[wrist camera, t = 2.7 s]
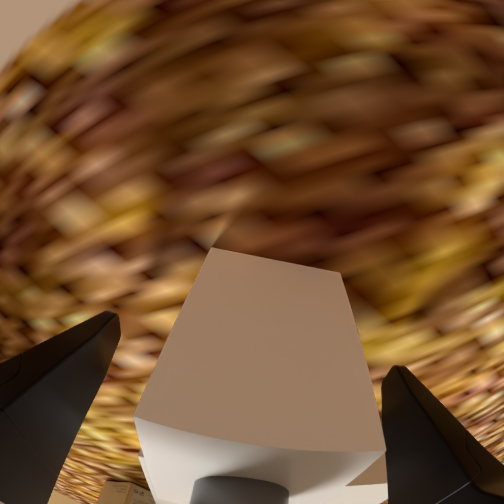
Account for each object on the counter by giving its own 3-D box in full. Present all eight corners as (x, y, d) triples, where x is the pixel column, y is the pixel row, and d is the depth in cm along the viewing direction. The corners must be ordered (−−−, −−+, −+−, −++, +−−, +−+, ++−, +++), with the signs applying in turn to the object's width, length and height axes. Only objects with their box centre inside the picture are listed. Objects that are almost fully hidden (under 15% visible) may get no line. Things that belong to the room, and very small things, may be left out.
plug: (198, 360, 11) (146, 539, 5) (211, 247, 9) (100, 498, 2) (297, 378, 11) (295, 561, 5) (340, 272, 9) (397, 528, 2)
